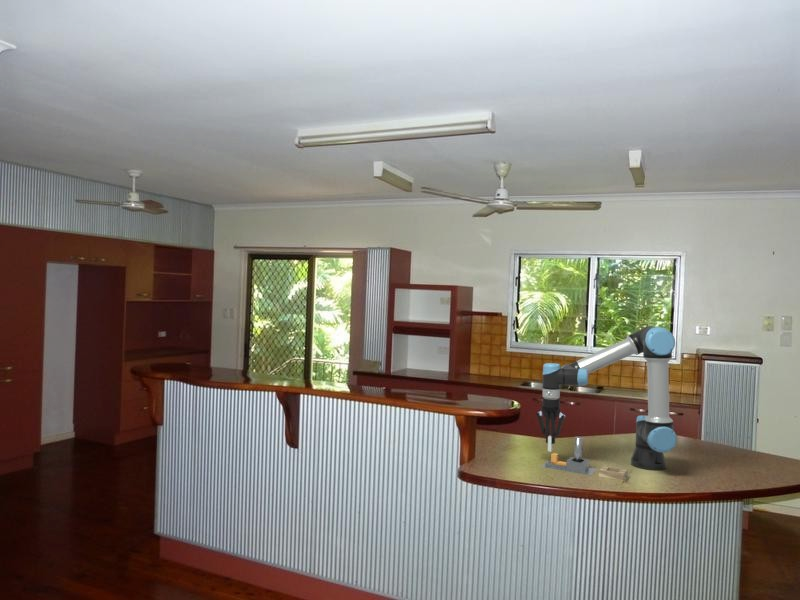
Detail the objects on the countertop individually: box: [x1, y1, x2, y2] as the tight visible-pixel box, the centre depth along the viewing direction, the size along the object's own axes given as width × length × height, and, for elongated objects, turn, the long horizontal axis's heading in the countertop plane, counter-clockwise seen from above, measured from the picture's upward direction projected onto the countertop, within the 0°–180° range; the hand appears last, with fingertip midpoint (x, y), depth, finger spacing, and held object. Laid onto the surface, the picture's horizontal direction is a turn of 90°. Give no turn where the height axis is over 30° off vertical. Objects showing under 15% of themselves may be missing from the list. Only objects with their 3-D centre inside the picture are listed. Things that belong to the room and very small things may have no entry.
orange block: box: [550, 452, 566, 466], centre depth 273 cm, size 3×8×5 cm, turn 61°
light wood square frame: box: [598, 465, 629, 484], centre depth 262 cm, size 10×10×4 cm
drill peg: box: [573, 436, 583, 462], centre depth 269 cm, size 3×3×14 cm
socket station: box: [539, 456, 597, 476], centre depth 271 cm, size 12×22×5 cm, turn 61°
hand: (550, 450), depth 275 cm, fingers closed
